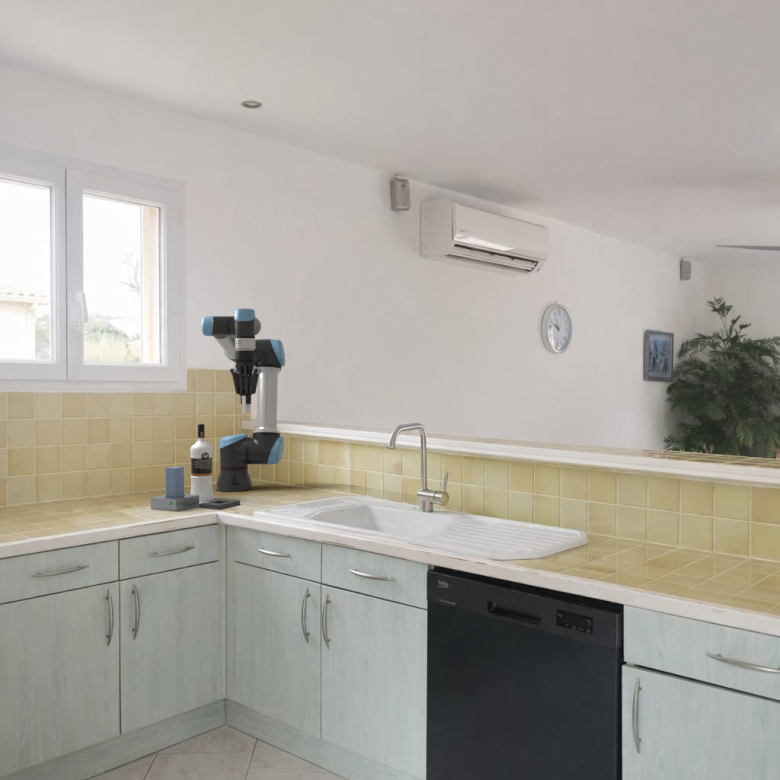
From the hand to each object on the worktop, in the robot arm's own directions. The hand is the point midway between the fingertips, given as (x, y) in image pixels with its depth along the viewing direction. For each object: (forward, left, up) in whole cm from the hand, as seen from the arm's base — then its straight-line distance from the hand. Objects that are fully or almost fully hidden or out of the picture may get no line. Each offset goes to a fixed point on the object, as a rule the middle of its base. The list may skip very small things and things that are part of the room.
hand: (245, 413), depth 301 cm
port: (+21, -16, -34) cm, 43 cm away
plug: (+21, -16, -33) cm, 42 cm away
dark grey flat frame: (+12, -3, -34) cm, 37 cm away
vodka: (+2, -20, -35) cm, 40 cm away
